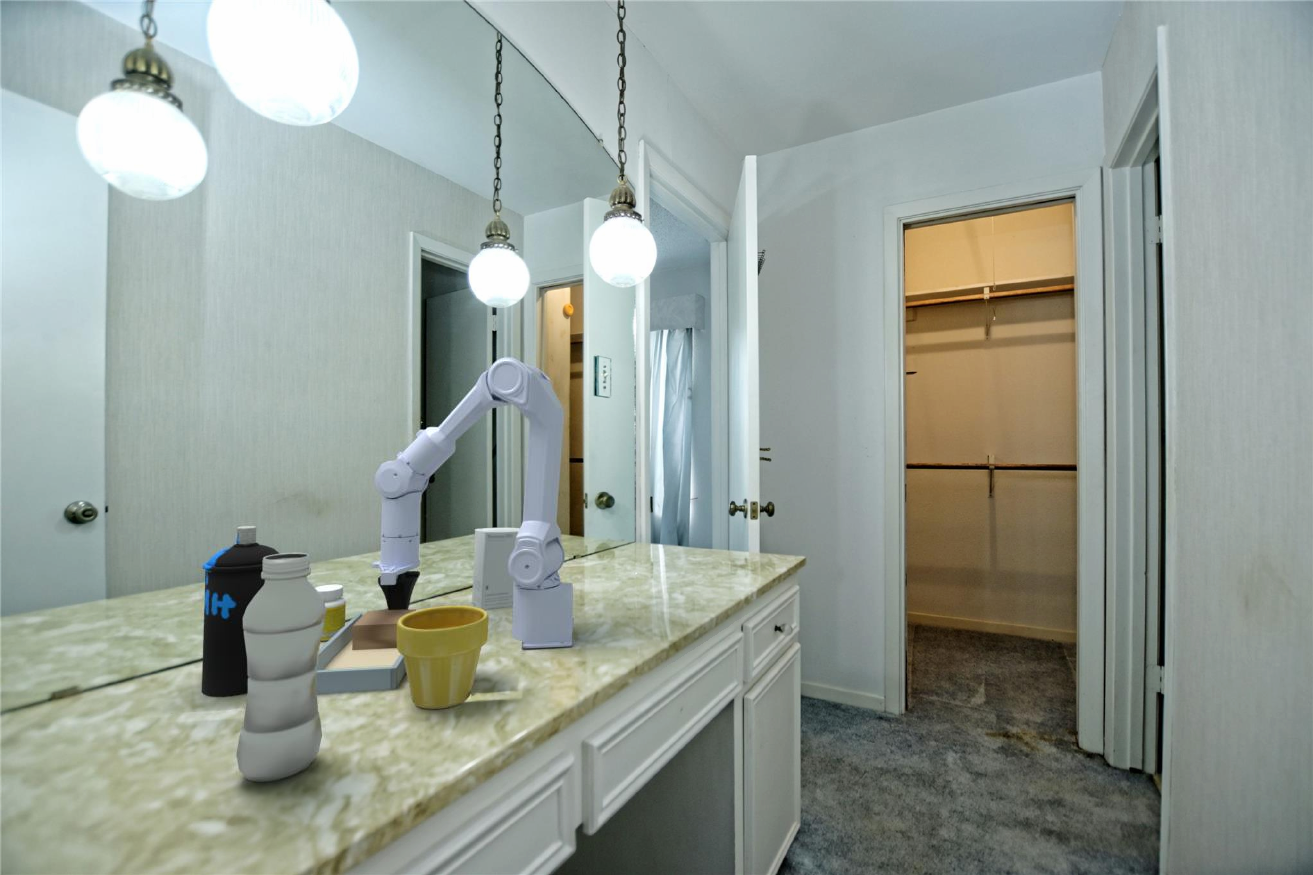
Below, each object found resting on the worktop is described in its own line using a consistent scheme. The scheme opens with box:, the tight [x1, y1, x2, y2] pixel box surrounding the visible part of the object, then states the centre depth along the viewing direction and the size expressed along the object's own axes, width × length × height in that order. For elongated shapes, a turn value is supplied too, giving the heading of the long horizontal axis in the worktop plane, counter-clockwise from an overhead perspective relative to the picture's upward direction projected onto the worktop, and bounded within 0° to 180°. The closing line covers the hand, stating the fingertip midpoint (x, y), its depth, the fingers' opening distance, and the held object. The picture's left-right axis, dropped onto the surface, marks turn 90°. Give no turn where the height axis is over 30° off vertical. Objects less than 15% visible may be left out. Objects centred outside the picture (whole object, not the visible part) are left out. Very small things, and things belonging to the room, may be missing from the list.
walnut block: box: [352, 608, 417, 650], centre depth 84 cm, size 7×7×4 cm
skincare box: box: [471, 527, 520, 611], centre depth 105 cm, size 8×6×15 cm
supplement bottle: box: [314, 584, 346, 643], centre depth 85 cm, size 5×5×8 cm
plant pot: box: [397, 605, 489, 710], centre depth 68 cm, size 10×10×10 cm
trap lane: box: [316, 612, 407, 695], centre depth 79 cm, size 16×24×4 cm
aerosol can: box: [201, 525, 281, 698], centre depth 69 cm, size 8×8×20 cm
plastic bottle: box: [235, 552, 326, 783], centre depth 53 cm, size 6×7×20 cm
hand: (398, 618), depth 92 cm, fingers closed
